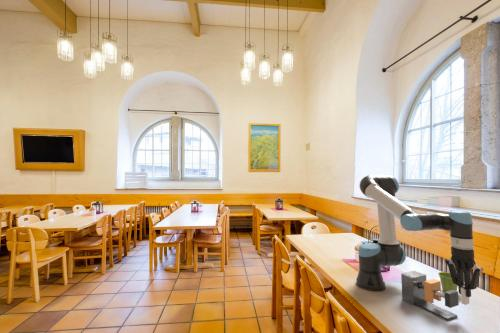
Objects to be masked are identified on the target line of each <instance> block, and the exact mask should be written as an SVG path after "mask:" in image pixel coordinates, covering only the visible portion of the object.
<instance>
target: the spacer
mask: <svg viewBox="0 0 500 333" xmlns="http://www.w3.org/2000/svg"><path fill="white" fill-rule="evenodd" d="M424 289H425V301H427V302H430V303H432V304H434V301H437V302H441V301H442V297H441V296H438V295H436V294H434V293H433V291H434V290H438V291H440V292H442V285H441V280H438V279H435V278H432V279H428V280H427V279H426V281H424Z"/></svg>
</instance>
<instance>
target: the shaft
mask: <svg viewBox="0 0 500 333" xmlns="http://www.w3.org/2000/svg"><path fill="white" fill-rule="evenodd" d="M419 288H422V289H424V285H423V284H419ZM424 290H425V289H424ZM433 293H434V294H436V295H438V296H441V298H443V299H444V307H447V308H449V309H451V308H454V307H457V306H459V304H460V303H459V290H457V291H455V290H450V291H446V292H445V291H443V292H442V291H441V292H440V291H438V290H434V291H433Z"/></svg>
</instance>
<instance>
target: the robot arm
mask: <svg viewBox="0 0 500 333" xmlns="http://www.w3.org/2000/svg"><path fill="white" fill-rule="evenodd" d="M399 189H400V185H399V181H398V179H397V178H395V177H394V176H393V175H390V174H389V175H387V174H375V175H373V174H372V175H371V174H369V175H366V176H364V177H363V178H362V179H361V180H360V182H359V190H360V191H361V193H362V194H363V195H364V196H365V197H367V198H369V199H371V200H373V201H374V202H376V203H377V204H376V205H377V216H378V217H377V218H378V228H379V239H378V240H377V243H374V242H366V243H362V244H360V245H359V247H358V273H357V277H356V281H355V282H356V285H357V286H358V287H360V288H362V289H364V290H367V291H371V292H382V291H384V290H385V289H386V283H385V281H384V278H383V275H382V267H392V266H393V267H394V266H398V265H399V266H400V265H402V264H403V263H404V262H405V261H406V258H407V254H406V253H407V252H406V251H405V249H404V247H403V246H402V245H401V242H400V241H398V239H397V230H396V221H395V218H397V219H398V220H399V221H400V225H401V226H402V229H404V230H405V231H408V232H419V231H432V230H433V231H434V230H439V231H440V230H442V231H447V232H449V236H450V245H451V247H450V254H451V257H450V258H449V259H445V260H444V262H445V263H446V265H447V267H448V271H449V273H450V274H451V278H452V281H453V283H454V284H456V285H458V286H457V290H458V295H460V298H461V299H460V300H461V304H463V305H464V306H466V305H469V304H470V298H471V297H472V291H473V290H476V289H477V288H478V283H479V280H480V276H481V273H482V272H483V271H484V268H483V267H479V266H478V265H477V264H476V261H475V250H474V248H475V244H474V236H473V234H474V233H473V224H474V223H473V219H472V214H471V213H470V212H469V211H465V210H450V211H448V214H447V213H442V212H441V213H440V212H435V211H427V212H426V213H418V212H417V211H415V210H413V209H412V208H411V207H409V206H407V205H406V204H404V203H403V202H402V201H400V200H399V199H397V198H396V193H398V191H399ZM472 269H473V272H472ZM471 273H472V276H471Z"/></svg>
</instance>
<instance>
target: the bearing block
mask: <svg viewBox="0 0 500 333" xmlns="http://www.w3.org/2000/svg"><path fill="white" fill-rule="evenodd" d="M400 274H401V276H400V278H401V300H402V302H403V301H404V302H405V303H407V304H409V305H411V306H414V307H415V306H417V307H419V308H420V309H422V310H424V311H427V312H429V313H431V314H432V315H435V316H436V317H439V318H441V319H443V320H445V321H446V322H449V321H451V320H454V319H456V318H458V314H456V313H453V312H451V311H449V310H447V309H444V308H443V307H440V306H438V305H436V304H434V303H430V302H427V301H425V290H424V289H422V288H419V284H423V285H424V281H427V274H425V273H421V272H420V271H416V270H413V271H407V272H402V273H400Z"/></svg>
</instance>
